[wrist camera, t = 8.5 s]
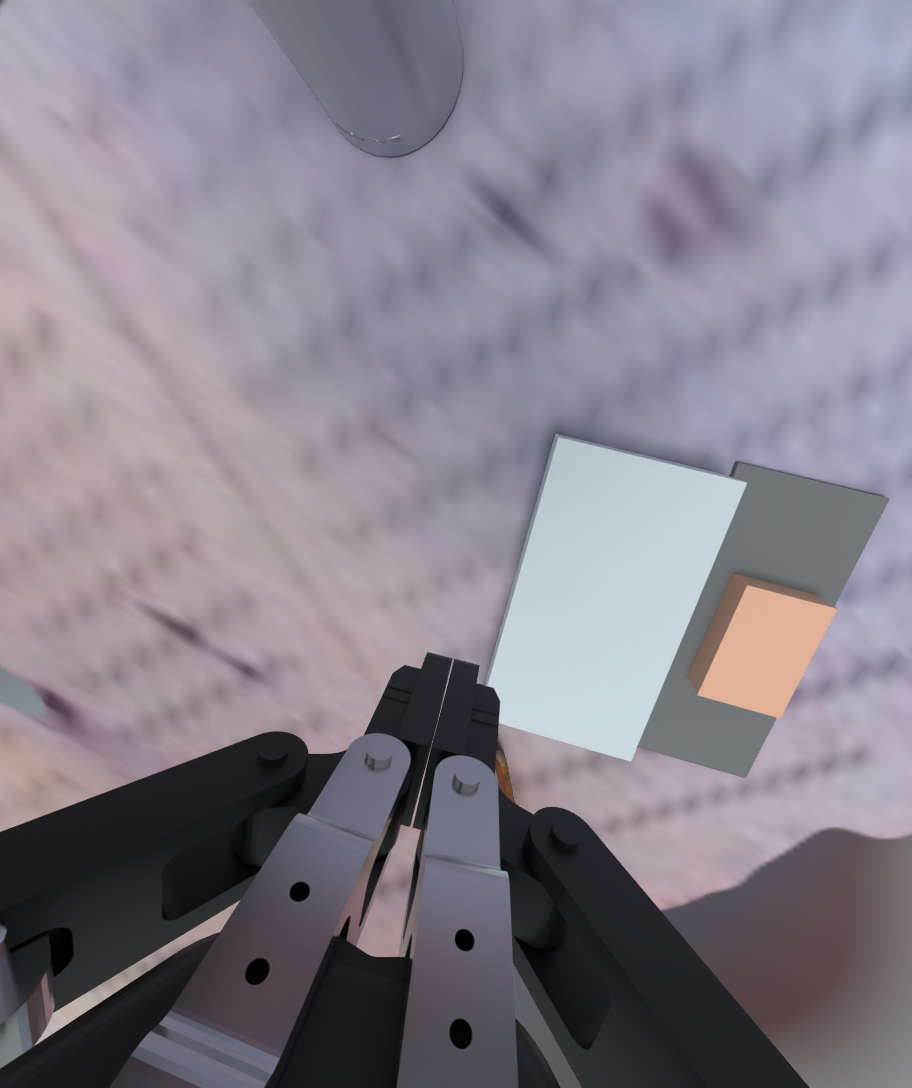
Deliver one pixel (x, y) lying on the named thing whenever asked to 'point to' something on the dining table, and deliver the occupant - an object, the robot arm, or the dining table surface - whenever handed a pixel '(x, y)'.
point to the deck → (605, 592)
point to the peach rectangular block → (759, 645)
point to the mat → (772, 556)
